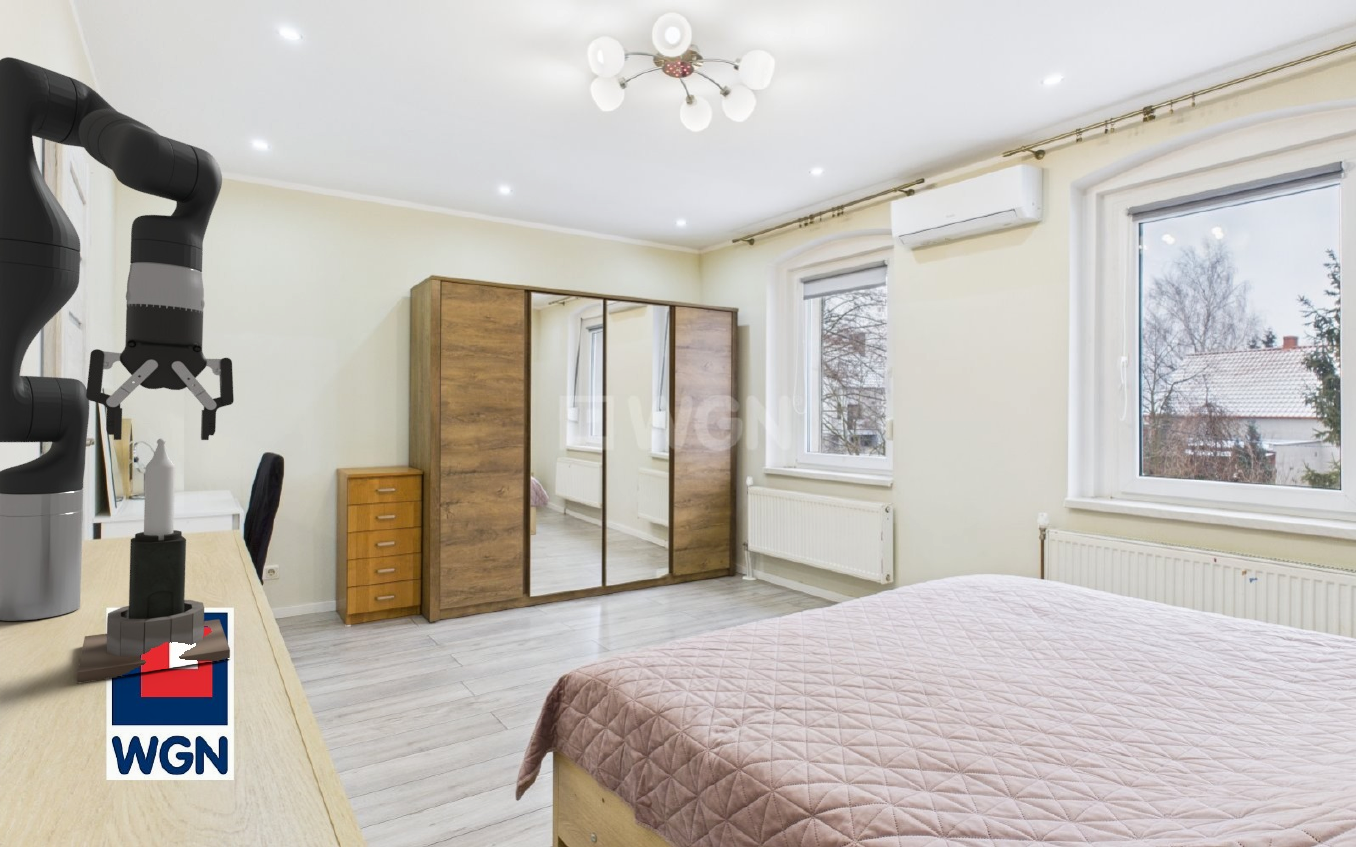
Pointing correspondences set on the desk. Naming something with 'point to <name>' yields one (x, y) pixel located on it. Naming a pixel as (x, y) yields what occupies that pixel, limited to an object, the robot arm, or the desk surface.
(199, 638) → the holder
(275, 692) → the desk surface
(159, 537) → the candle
